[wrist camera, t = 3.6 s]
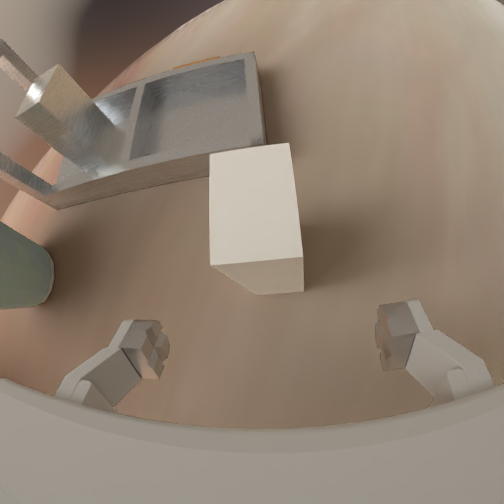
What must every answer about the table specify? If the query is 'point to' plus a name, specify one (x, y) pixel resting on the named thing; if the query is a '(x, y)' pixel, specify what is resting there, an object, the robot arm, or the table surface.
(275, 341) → the table surface
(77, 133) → the rack
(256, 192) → the cream rectangular block
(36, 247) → the disposable coffee cup
